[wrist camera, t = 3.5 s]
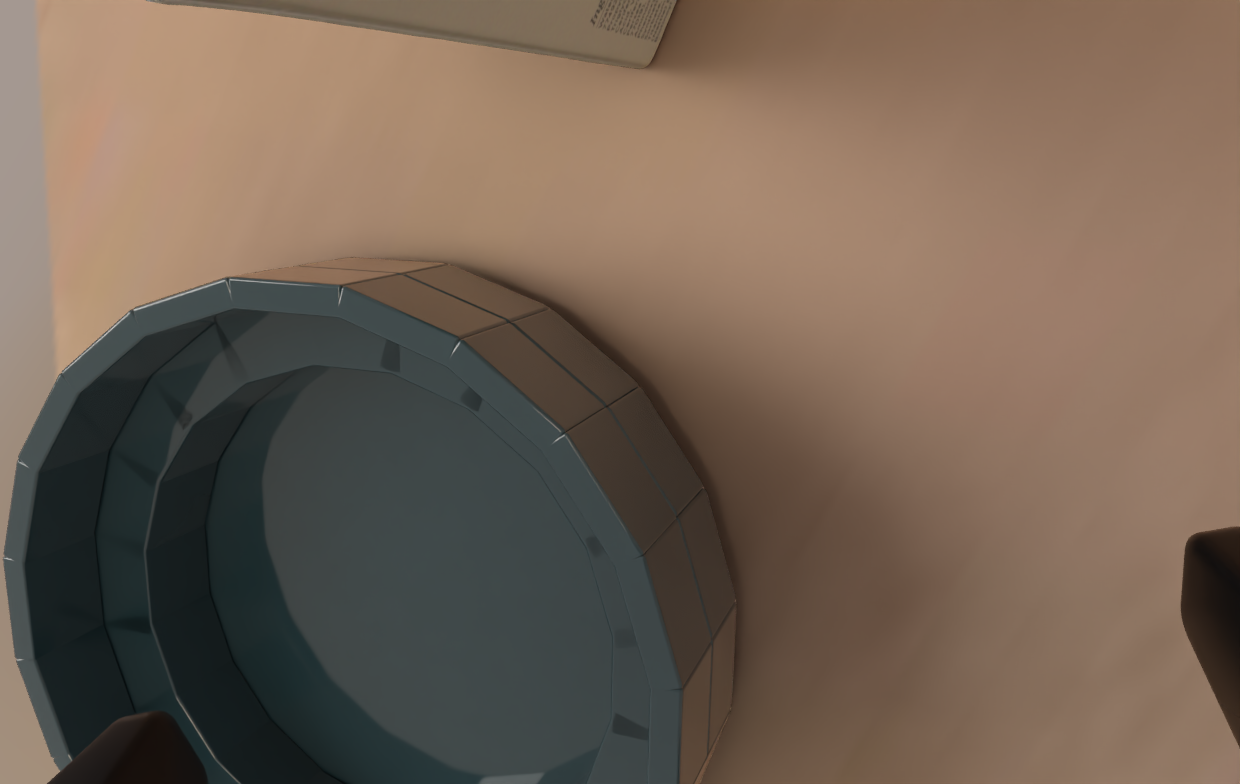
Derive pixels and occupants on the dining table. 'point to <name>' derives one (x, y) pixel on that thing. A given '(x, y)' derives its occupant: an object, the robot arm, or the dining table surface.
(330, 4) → the box
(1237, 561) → the robot arm
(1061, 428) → the dining table surface
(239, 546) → the bowl
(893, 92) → the dining table surface
